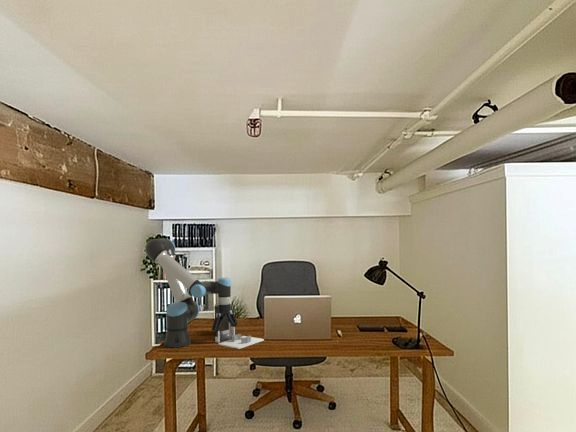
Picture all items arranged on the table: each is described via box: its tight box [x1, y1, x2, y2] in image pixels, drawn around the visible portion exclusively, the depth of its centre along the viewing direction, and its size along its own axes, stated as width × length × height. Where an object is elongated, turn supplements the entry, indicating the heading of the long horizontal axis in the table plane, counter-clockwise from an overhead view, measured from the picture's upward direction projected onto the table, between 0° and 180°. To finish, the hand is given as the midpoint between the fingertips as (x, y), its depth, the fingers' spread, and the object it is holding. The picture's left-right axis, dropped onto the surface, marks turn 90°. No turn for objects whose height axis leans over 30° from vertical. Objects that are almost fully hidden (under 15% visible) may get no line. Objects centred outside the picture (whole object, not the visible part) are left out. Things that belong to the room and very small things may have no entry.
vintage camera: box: [213, 303, 231, 334], centre depth 279 cm, size 10×16×20 cm, turn 174°
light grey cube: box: [220, 330, 232, 342], centre depth 260 cm, size 6×6×6 cm
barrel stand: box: [217, 333, 265, 350], centre depth 252 cm, size 22×16×4 cm
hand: (225, 339), depth 260 cm, fingers open, 12 cm apart
